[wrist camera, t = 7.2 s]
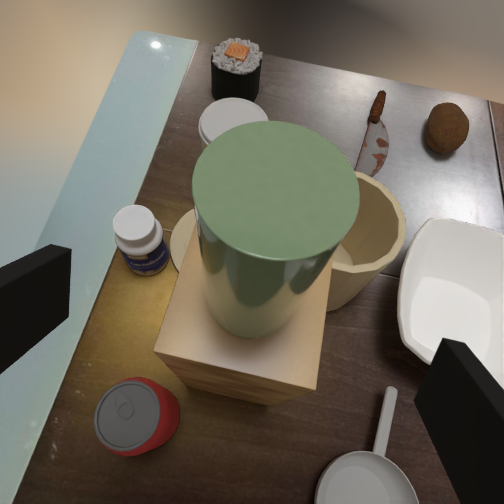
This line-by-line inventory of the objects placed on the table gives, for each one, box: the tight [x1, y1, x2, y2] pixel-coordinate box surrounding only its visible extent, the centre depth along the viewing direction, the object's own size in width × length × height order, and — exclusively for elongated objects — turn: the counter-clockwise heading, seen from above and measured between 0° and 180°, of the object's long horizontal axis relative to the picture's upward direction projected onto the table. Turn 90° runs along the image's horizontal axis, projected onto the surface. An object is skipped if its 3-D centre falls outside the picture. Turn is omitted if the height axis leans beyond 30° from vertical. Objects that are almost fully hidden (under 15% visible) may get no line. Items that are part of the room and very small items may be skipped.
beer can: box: [94, 377, 180, 456], centre depth 36 cm, size 7×7×12 cm
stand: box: [153, 224, 334, 406], centre depth 34 cm, size 10×10×24 cm
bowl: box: [397, 218, 504, 389], centre depth 45 cm, size 21×21×9 cm
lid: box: [170, 209, 196, 272], centre depth 46 cm, size 14×14×11 cm
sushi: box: [211, 38, 263, 102], centre depth 61 cm, size 8×8×8 cm
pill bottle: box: [113, 205, 169, 275], centre depth 45 cm, size 6×6×10 cm
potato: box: [425, 103, 469, 153], centre depth 61 cm, size 7×10×6 cm
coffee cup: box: [198, 98, 269, 151], centre depth 51 cm, size 9×9×12 cm
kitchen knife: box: [355, 90, 389, 177], centre depth 62 cm, size 21×2×5 cm
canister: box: [192, 121, 360, 339], centre depth 18 cm, size 6×6×12 cm
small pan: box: [314, 386, 419, 504], centre depth 39 cm, size 11×18×4 cm, turn 159°
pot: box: [326, 171, 406, 312], centre depth 44 cm, size 13×13×14 cm
